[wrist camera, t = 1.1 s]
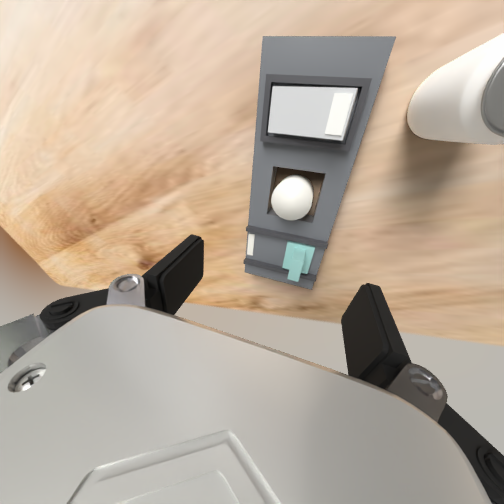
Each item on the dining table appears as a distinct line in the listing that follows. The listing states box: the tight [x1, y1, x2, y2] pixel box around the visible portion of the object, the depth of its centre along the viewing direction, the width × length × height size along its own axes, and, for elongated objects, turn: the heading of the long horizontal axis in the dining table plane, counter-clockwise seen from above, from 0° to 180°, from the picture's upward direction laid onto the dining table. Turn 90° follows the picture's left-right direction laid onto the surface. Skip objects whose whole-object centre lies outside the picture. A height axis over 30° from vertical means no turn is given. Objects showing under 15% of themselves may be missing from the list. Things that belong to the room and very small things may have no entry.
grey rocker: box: [268, 86, 358, 141], centre depth 20 cm, size 8×4×1 cm, turn 85°
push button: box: [271, 174, 314, 220], centre depth 26 cm, size 5×5×4 cm
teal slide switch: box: [282, 240, 315, 282], centre depth 29 cm, size 4×5×4 cm
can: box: [407, 33, 504, 145], centre depth 15 cm, size 6×6×12 cm
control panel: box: [244, 36, 396, 290], centre depth 27 cm, size 12×30×4 cm, turn 175°
